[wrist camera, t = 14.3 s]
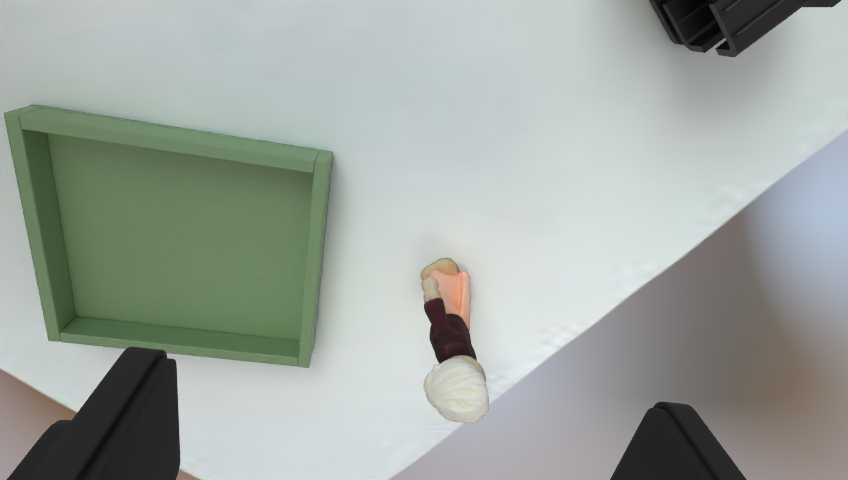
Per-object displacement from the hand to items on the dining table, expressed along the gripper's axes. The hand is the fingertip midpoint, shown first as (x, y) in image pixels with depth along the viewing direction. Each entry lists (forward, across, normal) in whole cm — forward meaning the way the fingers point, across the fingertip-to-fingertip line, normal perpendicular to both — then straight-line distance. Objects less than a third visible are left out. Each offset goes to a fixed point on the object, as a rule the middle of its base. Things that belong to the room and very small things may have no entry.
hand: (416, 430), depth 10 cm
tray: (+23, +12, +10) cm, 28 cm away
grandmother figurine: (+23, -5, +10) cm, 26 cm away
